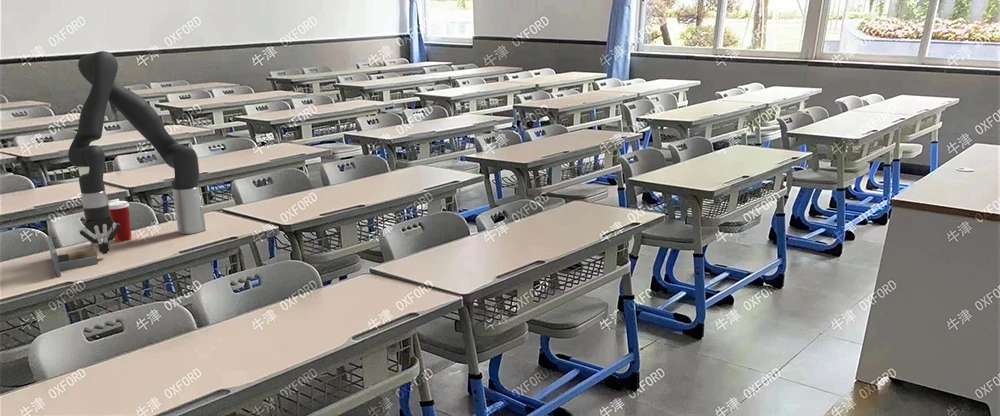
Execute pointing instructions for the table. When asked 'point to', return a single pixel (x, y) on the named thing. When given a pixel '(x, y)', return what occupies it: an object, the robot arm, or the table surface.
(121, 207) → the paper cup
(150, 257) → the table surface
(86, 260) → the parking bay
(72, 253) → the walnut cart
